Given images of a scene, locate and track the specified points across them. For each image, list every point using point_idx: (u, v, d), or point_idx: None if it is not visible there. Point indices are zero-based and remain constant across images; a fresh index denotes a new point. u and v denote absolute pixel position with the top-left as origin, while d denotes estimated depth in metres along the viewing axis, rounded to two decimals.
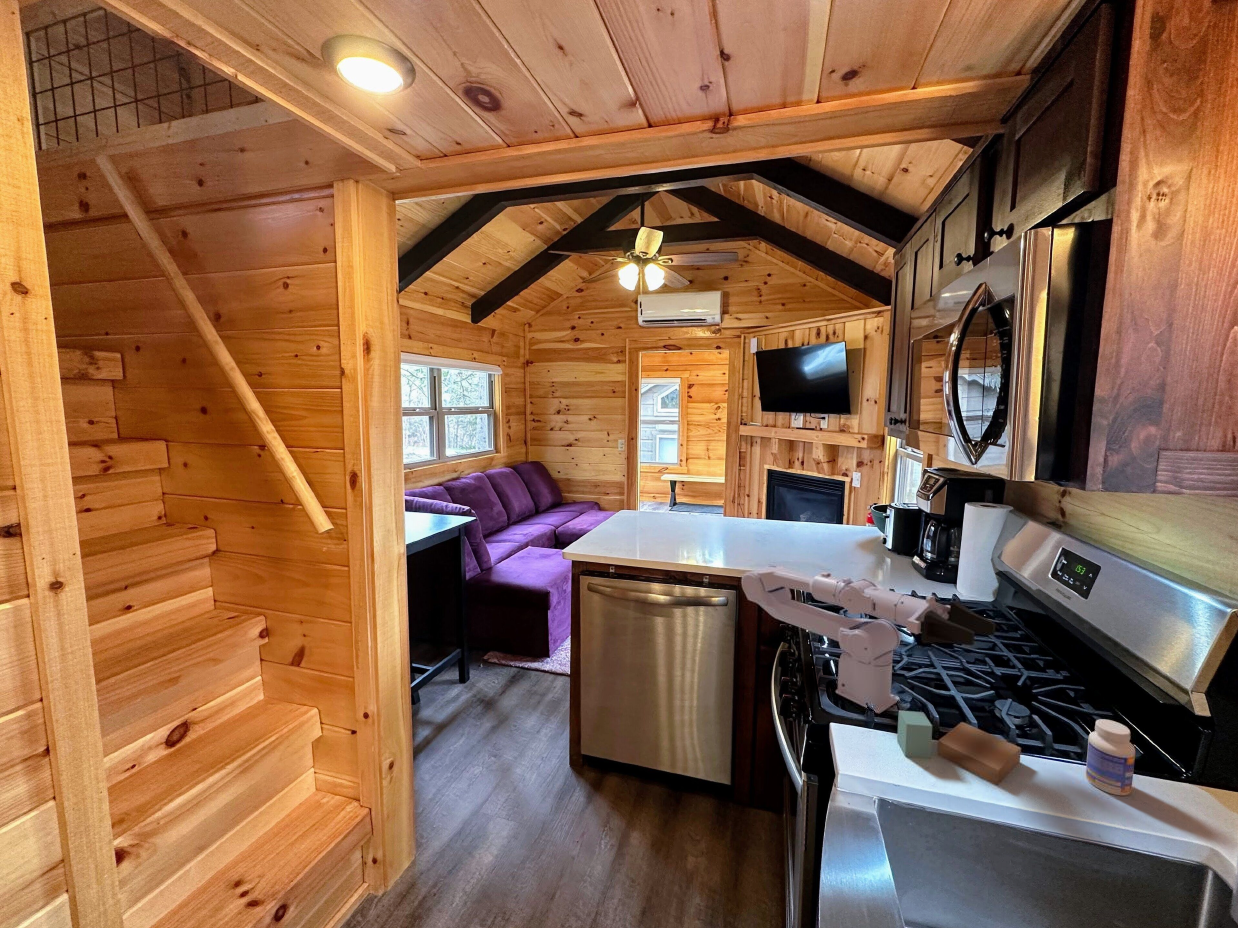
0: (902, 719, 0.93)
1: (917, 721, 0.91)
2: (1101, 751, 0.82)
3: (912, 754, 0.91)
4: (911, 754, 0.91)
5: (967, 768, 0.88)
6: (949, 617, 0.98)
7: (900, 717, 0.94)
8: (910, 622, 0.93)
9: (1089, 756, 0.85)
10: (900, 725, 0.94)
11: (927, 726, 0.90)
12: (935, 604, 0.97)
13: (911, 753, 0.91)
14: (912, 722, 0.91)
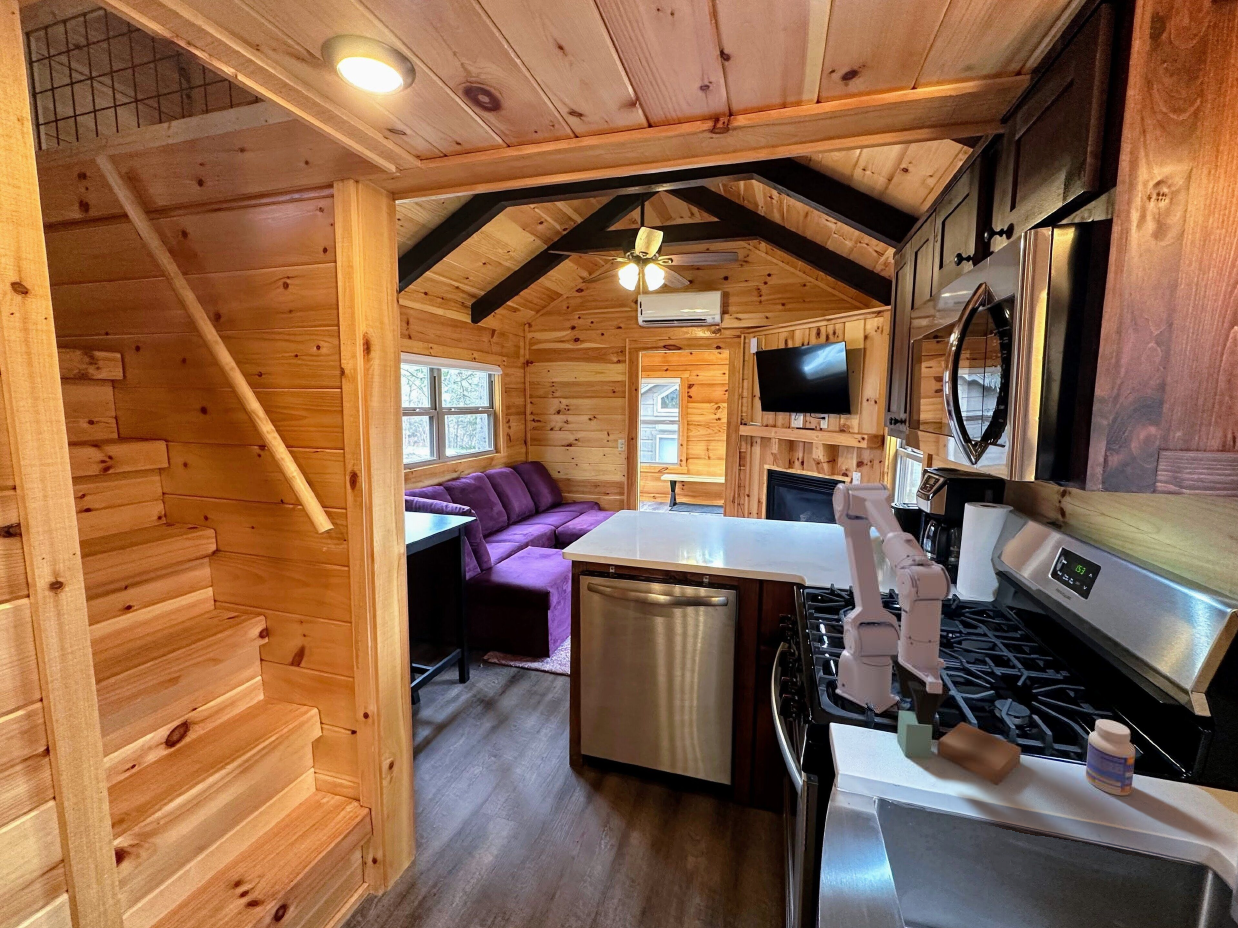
0: (902, 719, 0.93)
1: None
2: (1101, 751, 0.82)
3: (912, 754, 0.91)
4: (911, 754, 0.91)
5: (967, 768, 0.88)
6: None
7: (900, 717, 0.94)
8: (940, 686, 0.84)
9: (1089, 756, 0.85)
10: (900, 725, 0.94)
11: (927, 726, 0.90)
12: None
13: (911, 753, 0.91)
14: (912, 722, 0.91)
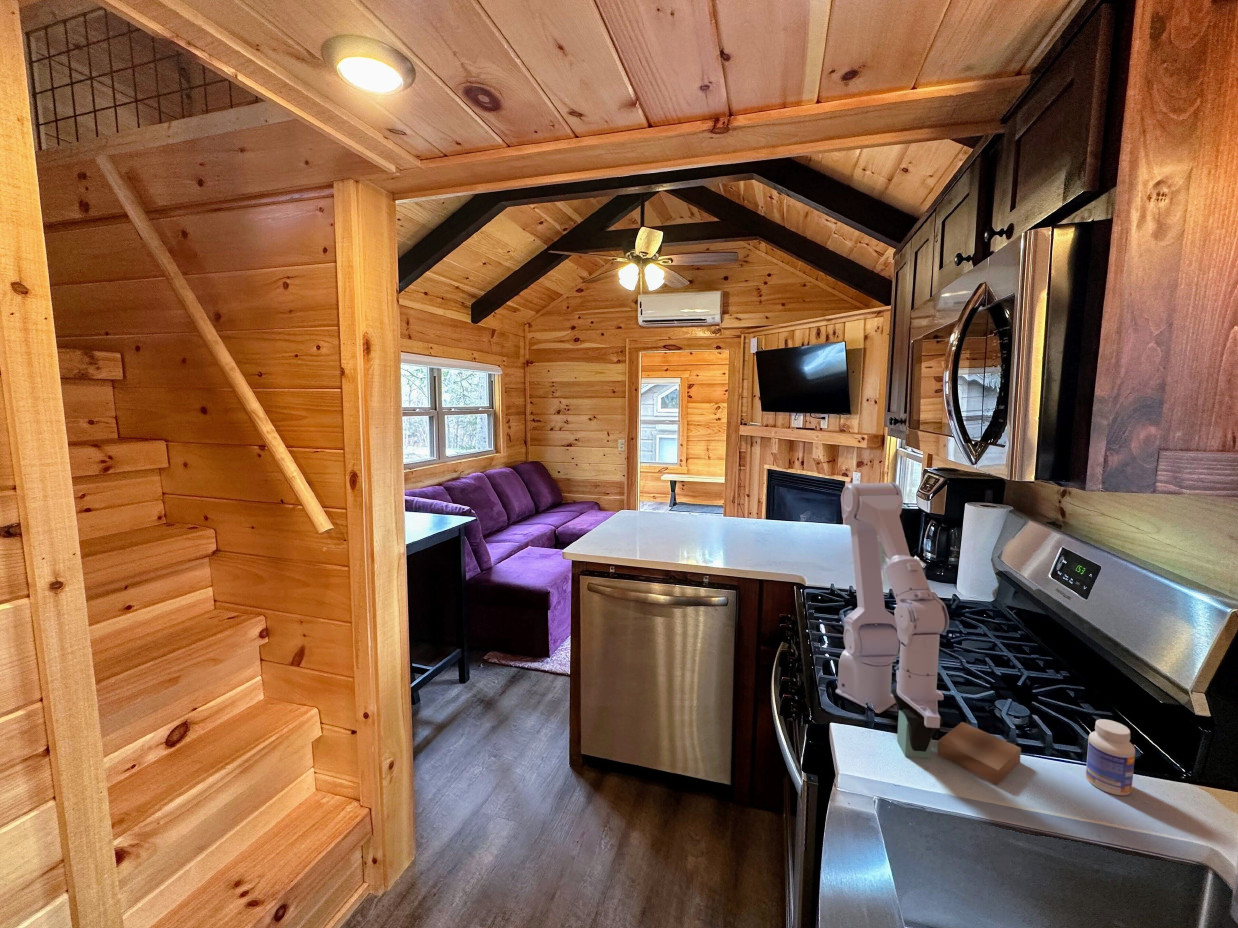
0: (902, 719, 0.93)
1: None
2: (1101, 751, 0.82)
3: (912, 754, 0.91)
4: (911, 754, 0.91)
5: (967, 768, 0.88)
6: None
7: (900, 717, 0.94)
8: (937, 720, 0.85)
9: (1089, 756, 0.85)
10: (900, 725, 0.94)
11: None
12: None
13: (911, 753, 0.91)
14: None
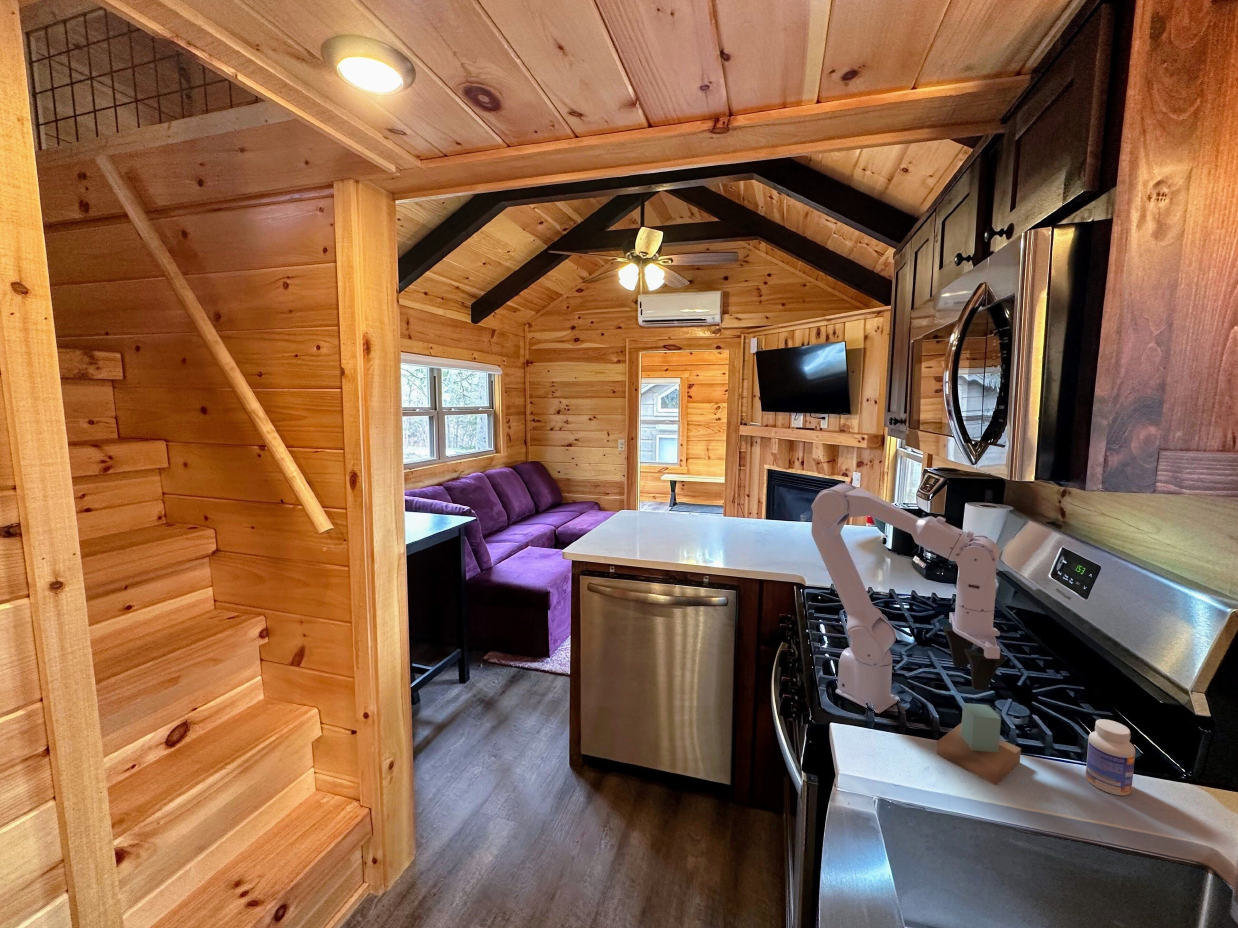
0: (968, 712, 0.90)
1: (985, 714, 0.89)
2: (1101, 751, 0.82)
3: (979, 747, 0.89)
4: (978, 748, 0.89)
5: (967, 768, 0.88)
6: None
7: (965, 710, 0.91)
8: (997, 651, 0.88)
9: (1089, 756, 0.85)
10: (965, 718, 0.91)
11: (995, 718, 0.88)
12: None
13: (978, 746, 0.89)
14: (980, 715, 0.89)
